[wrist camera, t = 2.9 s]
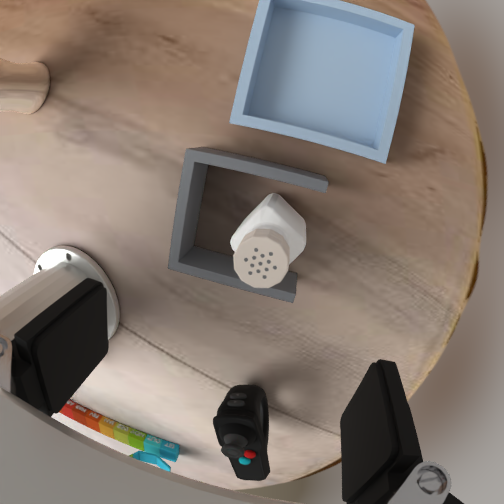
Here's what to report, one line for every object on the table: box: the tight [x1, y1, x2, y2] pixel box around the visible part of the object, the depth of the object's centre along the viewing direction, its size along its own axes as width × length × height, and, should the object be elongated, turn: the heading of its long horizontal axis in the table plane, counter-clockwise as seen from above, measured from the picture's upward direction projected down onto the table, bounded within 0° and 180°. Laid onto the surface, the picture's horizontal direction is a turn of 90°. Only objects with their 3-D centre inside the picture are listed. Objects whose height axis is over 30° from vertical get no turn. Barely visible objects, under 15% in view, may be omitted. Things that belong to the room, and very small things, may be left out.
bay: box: [168, 147, 329, 303], centre depth 25 cm, size 10×10×4 cm
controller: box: [213, 385, 270, 481], centre depth 30 cm, size 4×12×10 cm, turn 9°
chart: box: [59, 400, 179, 472], centre depth 35 cm, size 30×3×15 cm, turn 79°
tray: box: [229, 0, 414, 164], centre depth 21 cm, size 12×12×3 cm
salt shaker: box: [230, 193, 306, 288], centre depth 23 cm, size 4×4×10 cm
